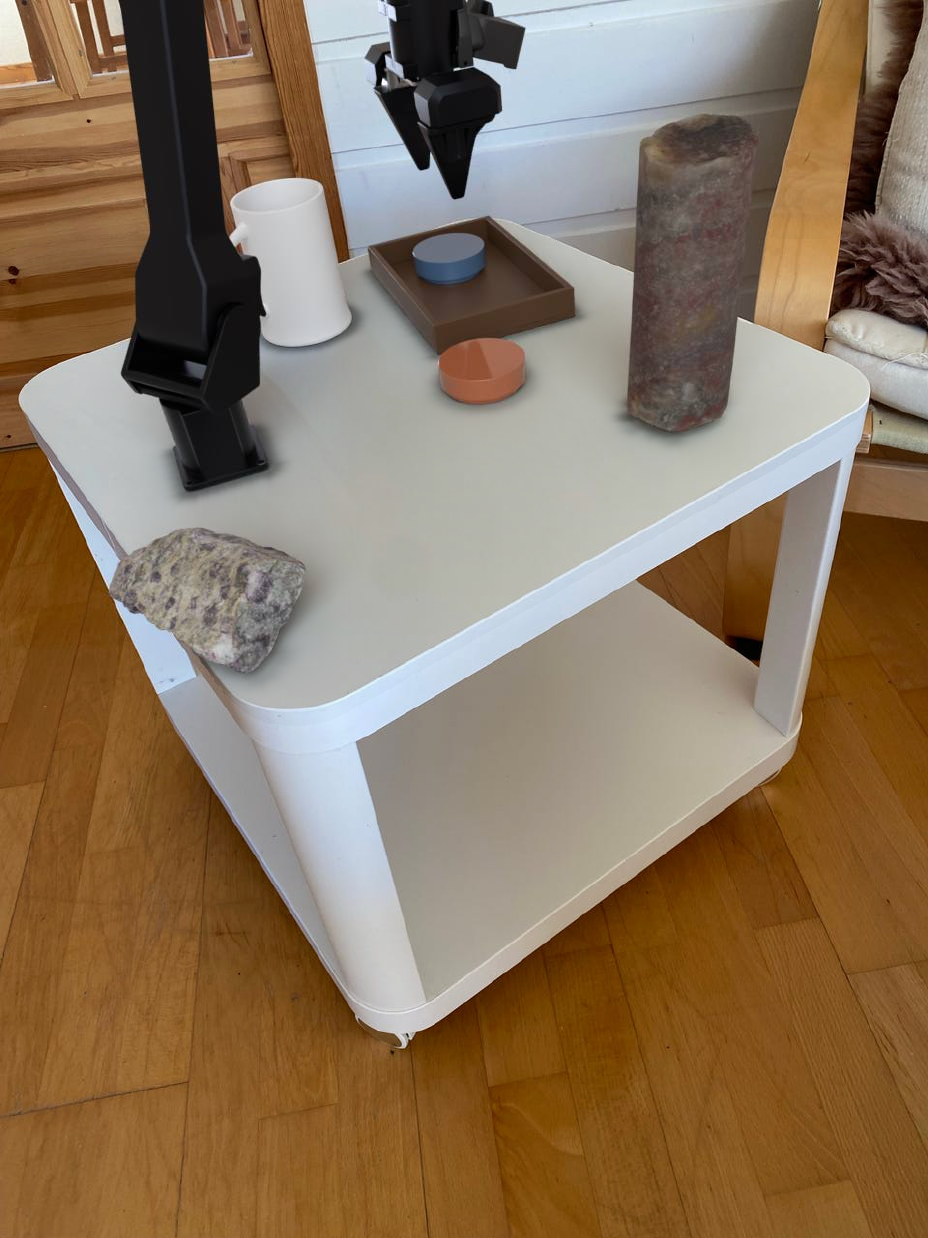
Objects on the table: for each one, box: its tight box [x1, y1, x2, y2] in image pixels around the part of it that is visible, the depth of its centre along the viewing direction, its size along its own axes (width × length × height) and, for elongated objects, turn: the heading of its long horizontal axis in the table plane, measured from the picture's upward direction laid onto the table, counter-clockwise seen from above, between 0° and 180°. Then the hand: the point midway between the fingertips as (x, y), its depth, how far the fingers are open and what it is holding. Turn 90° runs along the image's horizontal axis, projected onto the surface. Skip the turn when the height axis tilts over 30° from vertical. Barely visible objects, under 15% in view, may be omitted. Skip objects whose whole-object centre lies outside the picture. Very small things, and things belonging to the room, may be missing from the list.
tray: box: [366, 215, 576, 356], centre depth 89 cm, size 20×13×3 cm, turn 21°
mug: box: [229, 177, 353, 348], centre depth 84 cm, size 12×8×12 cm
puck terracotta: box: [437, 338, 527, 405], centre depth 77 cm, size 7×7×2 cm
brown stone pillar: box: [626, 113, 760, 433], centre depth 64 cm, size 8×7×20 cm
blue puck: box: [413, 233, 486, 285], centre depth 92 cm, size 7×7×2 cm
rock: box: [108, 527, 307, 674], centre depth 58 cm, size 13×6×10 cm
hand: (440, 183), depth 86 cm, fingers open, 9 cm apart
